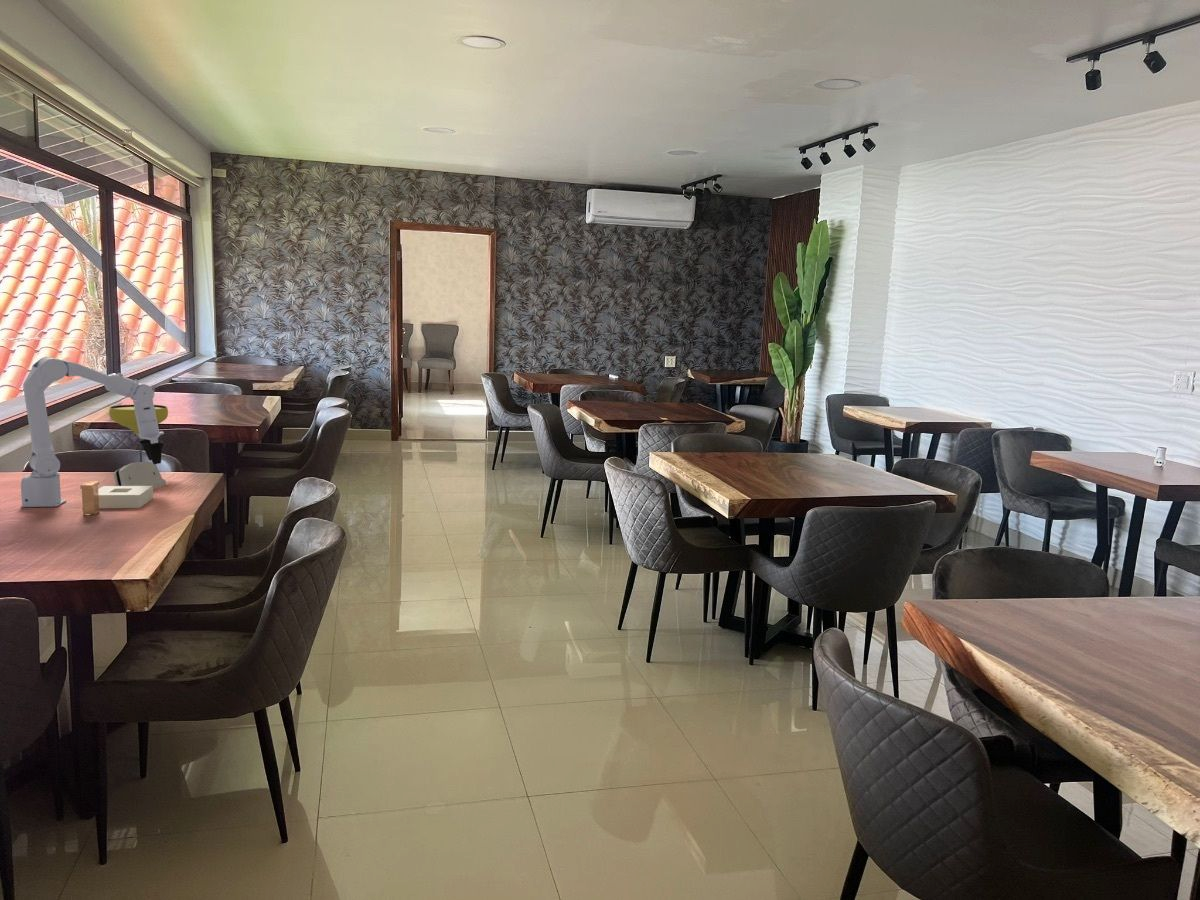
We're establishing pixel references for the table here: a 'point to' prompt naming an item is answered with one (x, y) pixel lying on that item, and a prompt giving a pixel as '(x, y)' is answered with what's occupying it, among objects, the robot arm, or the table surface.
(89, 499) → the t-shaped block
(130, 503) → the well block
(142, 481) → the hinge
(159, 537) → the table surface
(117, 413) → the cocktail glass
